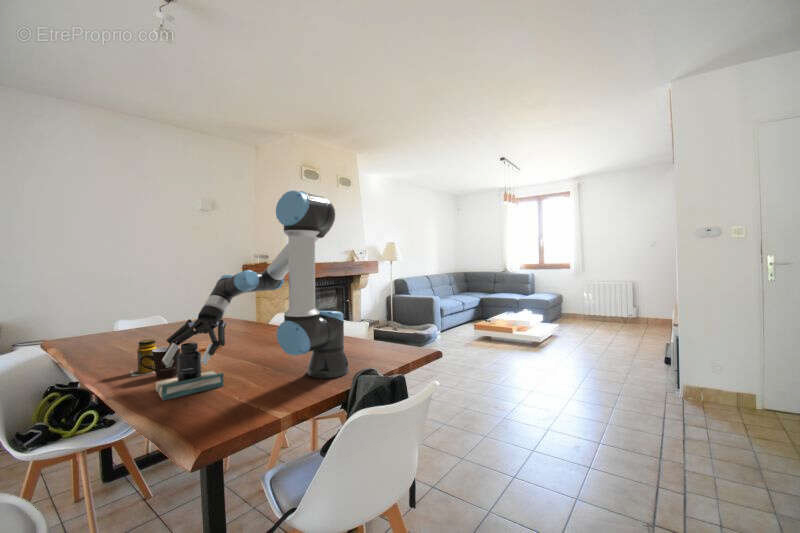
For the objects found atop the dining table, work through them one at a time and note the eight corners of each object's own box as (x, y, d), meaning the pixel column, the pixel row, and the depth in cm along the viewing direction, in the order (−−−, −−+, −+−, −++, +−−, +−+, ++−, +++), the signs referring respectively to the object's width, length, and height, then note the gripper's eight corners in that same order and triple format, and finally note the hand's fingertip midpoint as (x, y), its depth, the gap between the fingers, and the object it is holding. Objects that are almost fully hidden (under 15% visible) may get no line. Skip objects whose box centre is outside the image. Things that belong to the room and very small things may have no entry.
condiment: (159, 371, 134) (159, 340, 133) (132, 377, 128) (131, 344, 128) (156, 367, 139) (155, 338, 139) (129, 372, 133) (128, 341, 133)
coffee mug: (183, 371, 134) (183, 345, 134) (177, 378, 126) (176, 350, 126) (148, 374, 130) (147, 348, 130) (138, 381, 122) (138, 353, 122)
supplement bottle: (184, 384, 111) (183, 347, 111) (173, 381, 115) (172, 345, 114) (205, 378, 117) (205, 343, 117) (194, 375, 120) (194, 340, 120)
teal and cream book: (223, 386, 116) (223, 373, 116) (163, 400, 104) (162, 386, 104) (212, 377, 126) (212, 365, 126) (155, 389, 114) (155, 376, 114)
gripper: (249, 316, 129) (224, 369, 114) (187, 316, 132) (156, 367, 117) (240, 304, 124) (213, 357, 109) (177, 304, 127) (142, 356, 112)
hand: (184, 363), depth 113 cm, fingers open, 13 cm apart
